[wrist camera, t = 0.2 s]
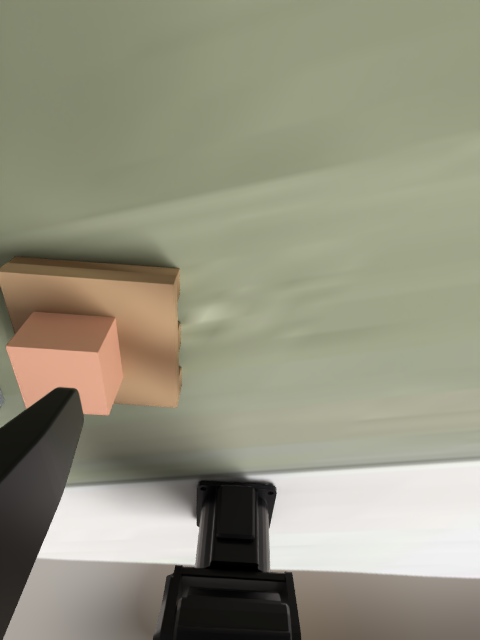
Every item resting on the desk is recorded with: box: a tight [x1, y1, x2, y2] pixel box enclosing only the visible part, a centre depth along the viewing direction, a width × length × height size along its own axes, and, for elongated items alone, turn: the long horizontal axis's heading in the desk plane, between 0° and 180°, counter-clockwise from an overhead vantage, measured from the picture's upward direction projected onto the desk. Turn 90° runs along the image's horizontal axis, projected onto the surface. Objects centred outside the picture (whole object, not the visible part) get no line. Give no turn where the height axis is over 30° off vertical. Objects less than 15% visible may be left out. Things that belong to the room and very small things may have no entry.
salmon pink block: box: [6, 312, 123, 415], centre depth 22 cm, size 4×4×3 cm
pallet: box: [0, 257, 182, 408], centre depth 24 cm, size 9×9×2 cm
